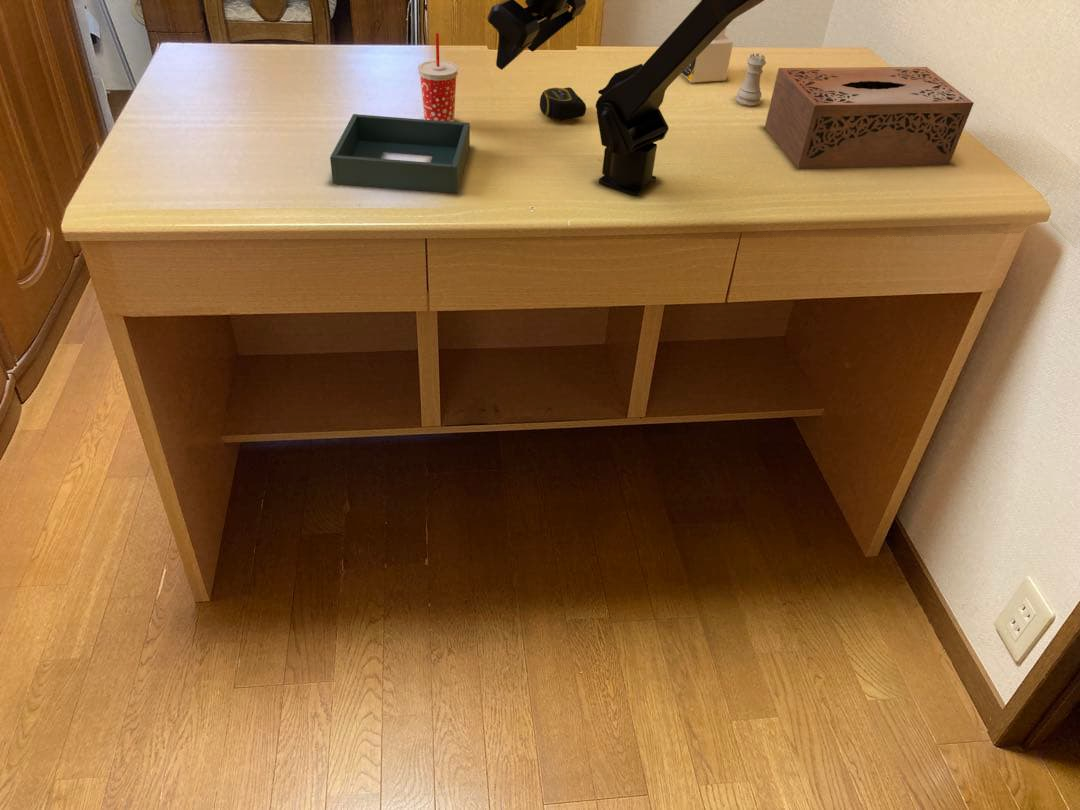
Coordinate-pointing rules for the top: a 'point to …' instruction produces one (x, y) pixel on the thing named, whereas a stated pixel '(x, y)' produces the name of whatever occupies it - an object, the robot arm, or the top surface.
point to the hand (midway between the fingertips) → (515, 58)
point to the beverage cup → (438, 88)
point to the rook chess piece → (751, 82)
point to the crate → (377, 134)
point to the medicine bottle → (711, 61)
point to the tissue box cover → (866, 116)
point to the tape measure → (561, 104)
